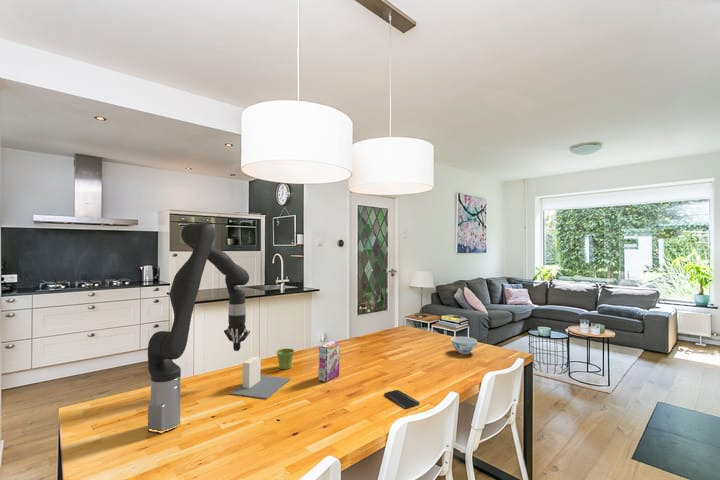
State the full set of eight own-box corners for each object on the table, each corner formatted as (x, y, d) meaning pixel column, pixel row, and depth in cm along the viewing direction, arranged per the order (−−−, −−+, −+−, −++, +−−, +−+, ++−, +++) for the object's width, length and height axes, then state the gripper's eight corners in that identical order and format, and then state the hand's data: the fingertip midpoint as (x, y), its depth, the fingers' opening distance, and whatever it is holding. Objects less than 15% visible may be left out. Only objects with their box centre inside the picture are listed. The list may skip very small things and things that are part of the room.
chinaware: (450, 355, 204) (450, 341, 204) (451, 347, 218) (451, 335, 219) (477, 357, 200) (477, 344, 200) (476, 350, 214) (476, 337, 214)
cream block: (249, 388, 154) (249, 363, 154) (242, 387, 155) (242, 362, 155) (260, 380, 163) (260, 357, 163) (253, 379, 164) (254, 356, 164)
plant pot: (296, 369, 179) (296, 352, 179) (277, 371, 176) (277, 354, 176) (292, 363, 188) (292, 347, 188) (274, 365, 184) (275, 349, 185)
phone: (397, 389, 153) (420, 402, 141) (397, 392, 153) (420, 405, 141) (382, 393, 149) (405, 407, 136) (382, 396, 149) (405, 410, 136)
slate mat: (266, 399, 144) (266, 397, 144) (229, 394, 149) (229, 392, 149) (290, 379, 166) (290, 378, 166) (257, 375, 170) (257, 374, 170)
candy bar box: (326, 383, 162) (326, 347, 162) (318, 380, 164) (318, 346, 165) (340, 375, 171) (340, 342, 172) (331, 373, 174) (332, 340, 174)
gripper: (219, 313, 159) (219, 351, 159) (244, 315, 156) (244, 354, 156) (229, 310, 167) (229, 347, 166) (254, 312, 163) (254, 349, 163)
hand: (236, 350), depth 161 cm, fingers closed
